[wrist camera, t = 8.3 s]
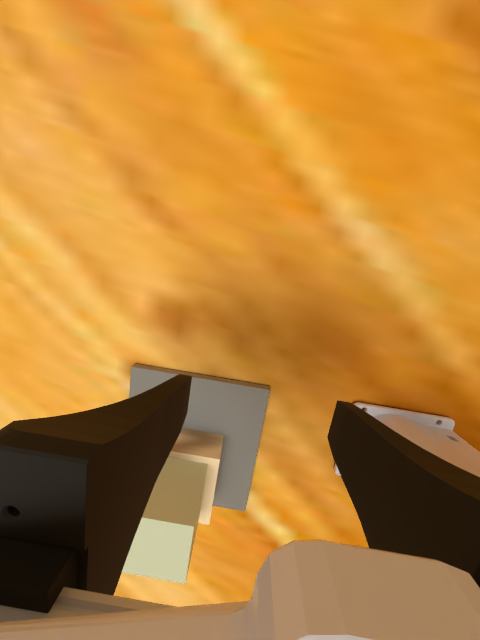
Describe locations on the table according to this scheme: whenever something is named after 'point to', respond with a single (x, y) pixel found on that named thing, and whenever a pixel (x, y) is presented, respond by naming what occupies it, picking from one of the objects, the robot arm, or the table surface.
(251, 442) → the gray board
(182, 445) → the birch plinth
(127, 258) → the table surface
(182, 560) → the sage block
